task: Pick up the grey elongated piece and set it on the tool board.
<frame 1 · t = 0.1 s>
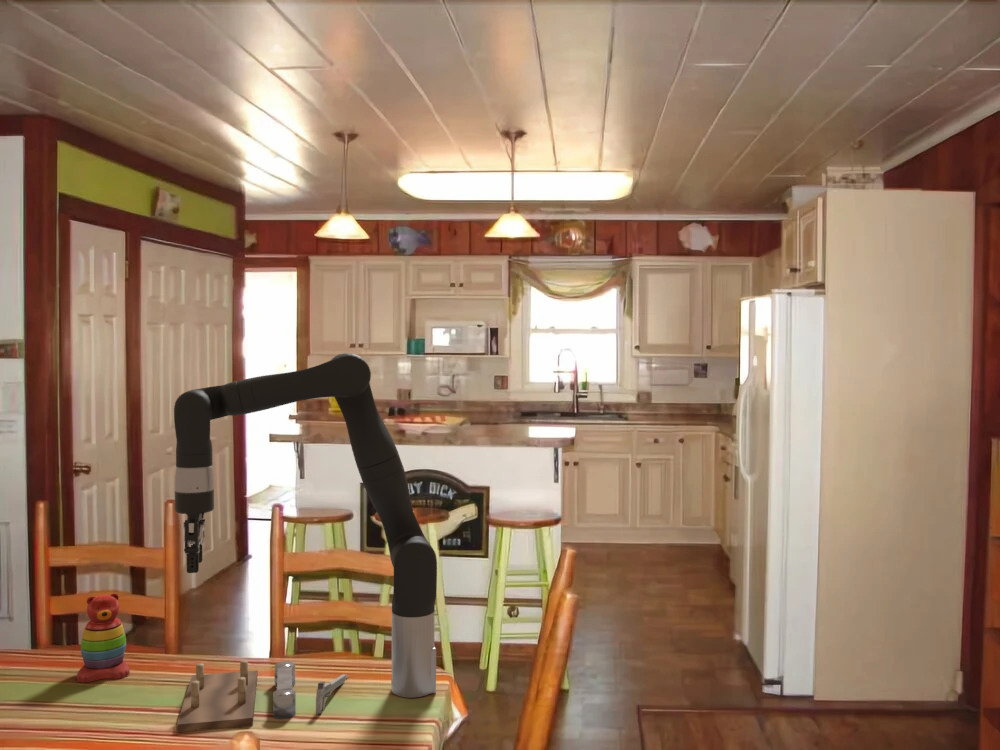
hand: (194, 567, 178), 29 cm above the table, fingers open, 8 cm apart
tool board: (220, 702, 182), on the table
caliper: (332, 697, 187), on the table
grey elongated piece: (284, 699, 184), on the table
stacking bear: (103, 674, 198), on the table
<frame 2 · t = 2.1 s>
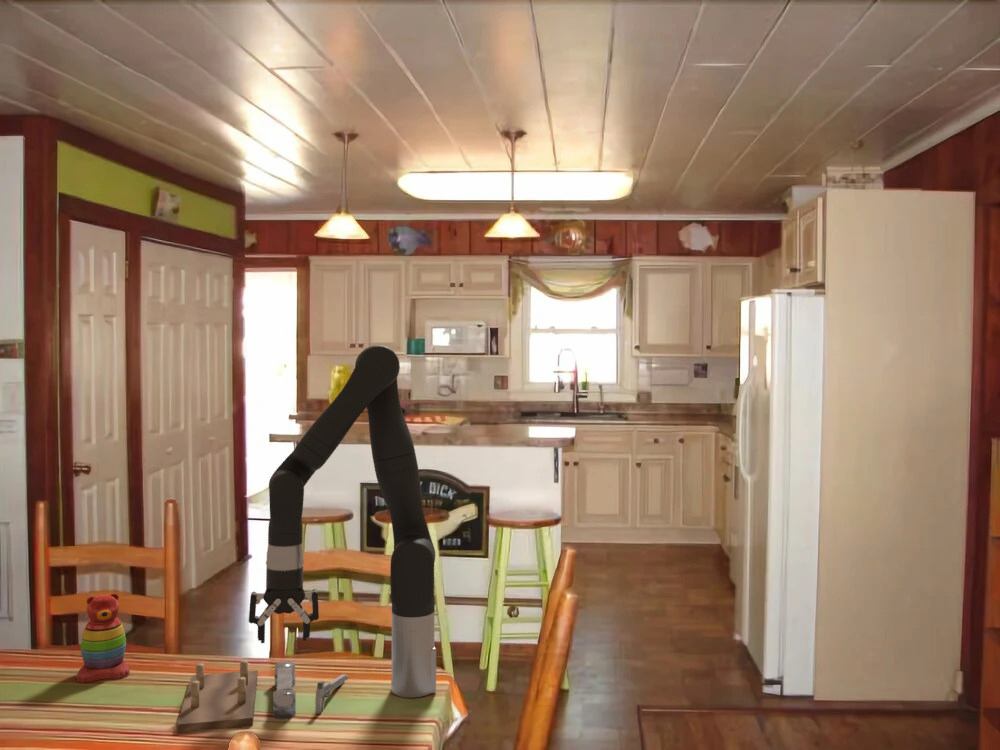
hand: (283, 640, 184), 12 cm above the table, fingers open, 8 cm apart
nothing on the table moved.
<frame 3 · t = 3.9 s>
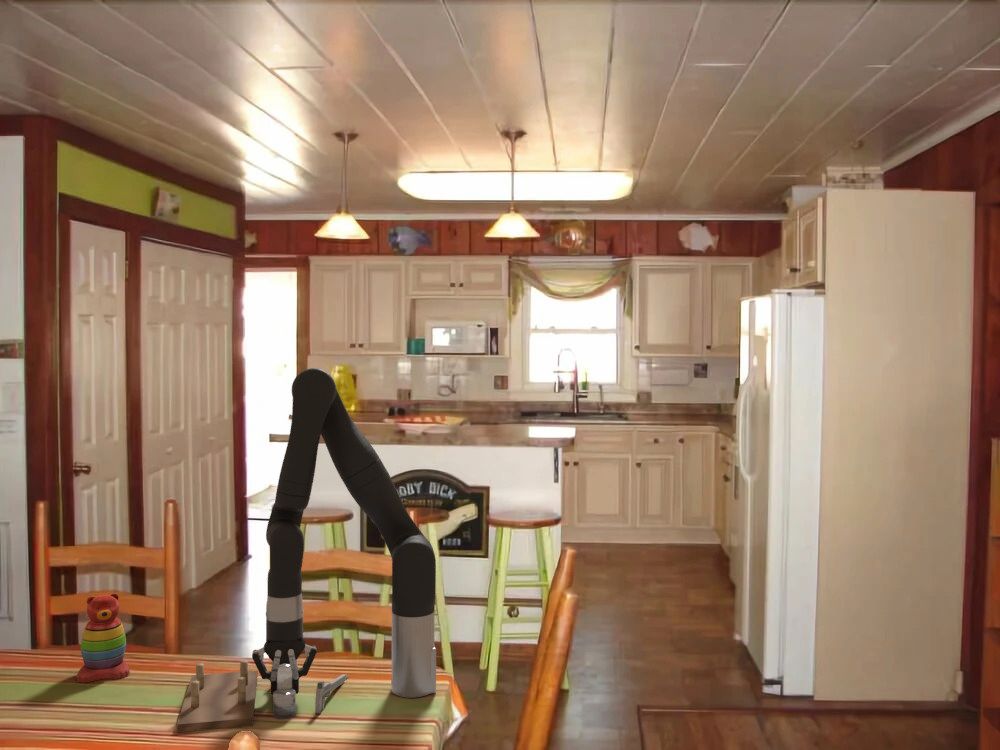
hand: (284, 695, 184), 1 cm above the table, fingers closed on grey elongated piece, 3 cm apart
grey elongated piece: (284, 699, 184), on the table, touching gripper
everything else where it was.
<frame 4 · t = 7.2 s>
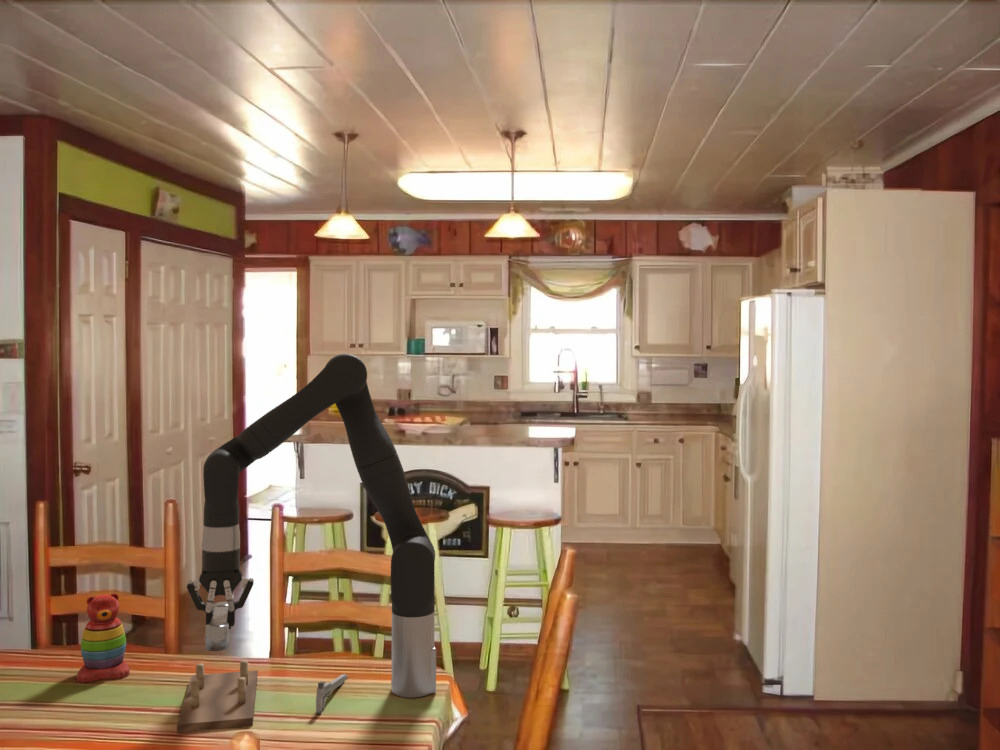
hand: (220, 628, 182), 16 cm above the table, fingers closed on grey elongated piece, 3 cm apart
grey elongated piece: (220, 635, 182), point 14 cm above the table, touching gripper
everything else where it was.
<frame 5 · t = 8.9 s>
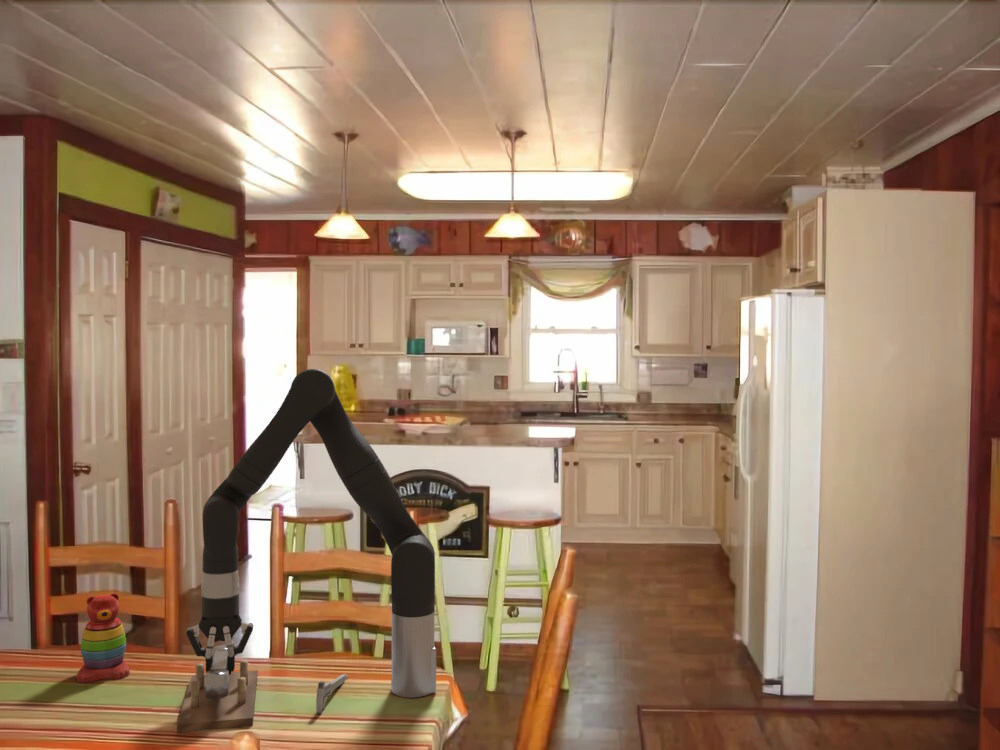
hand: (220, 673, 182), 6 cm above the table, fingers closed on grey elongated piece, 3 cm apart
grey elongated piece: (220, 681, 182), point 4 cm above the table, touching gripper
everything else where it was.
when the fingers open (3 cm above the table, at t = 10.2 s): grey elongated piece stays where it is, resting on tool board.
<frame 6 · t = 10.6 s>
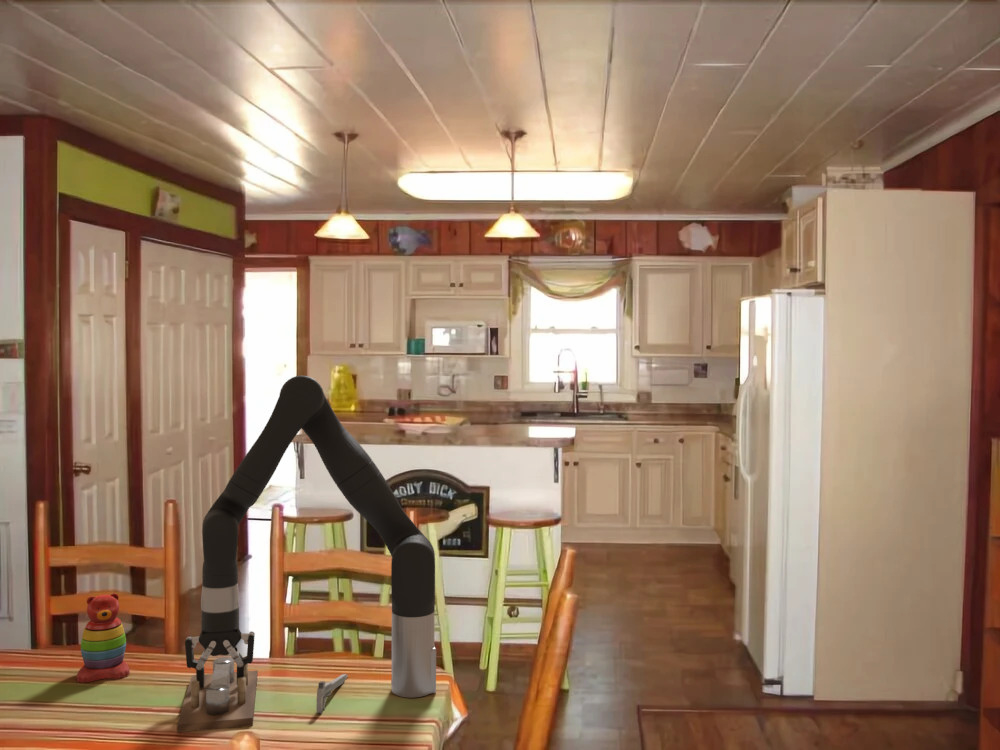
hand: (220, 684, 182), 4 cm above the table, fingers open, 6 cm apart
grey elongated piece: (220, 695, 182), point 1 cm above the table, touching tool board
everything else where it was.
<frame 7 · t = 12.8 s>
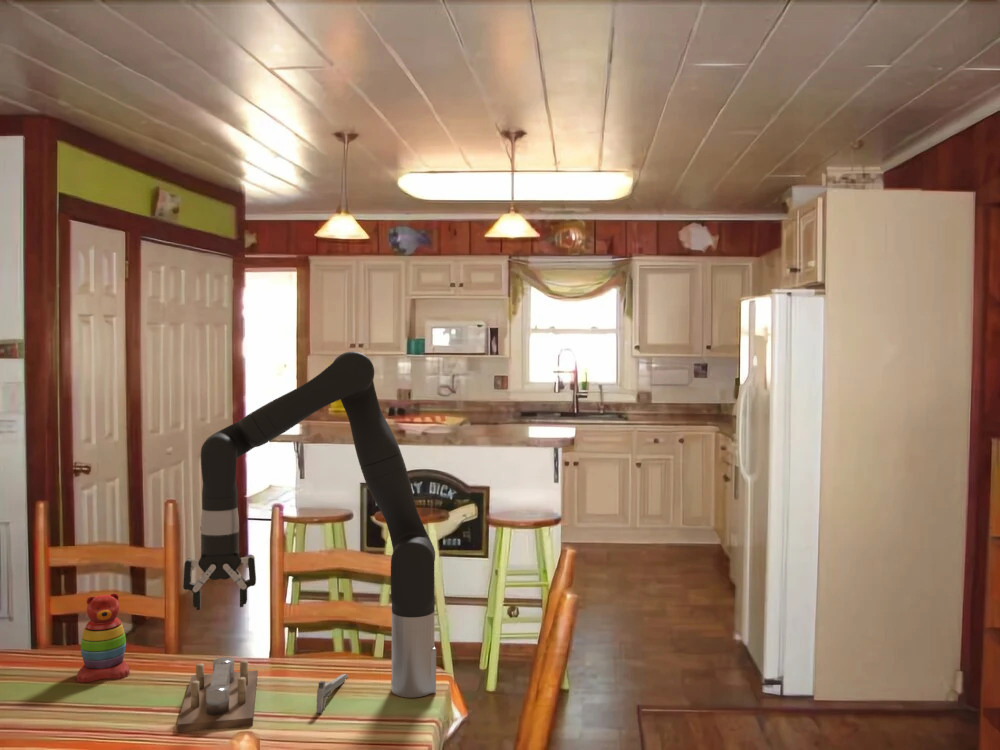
hand: (220, 607, 182), 20 cm above the table, fingers open, 8 cm apart
nothing on the table moved.
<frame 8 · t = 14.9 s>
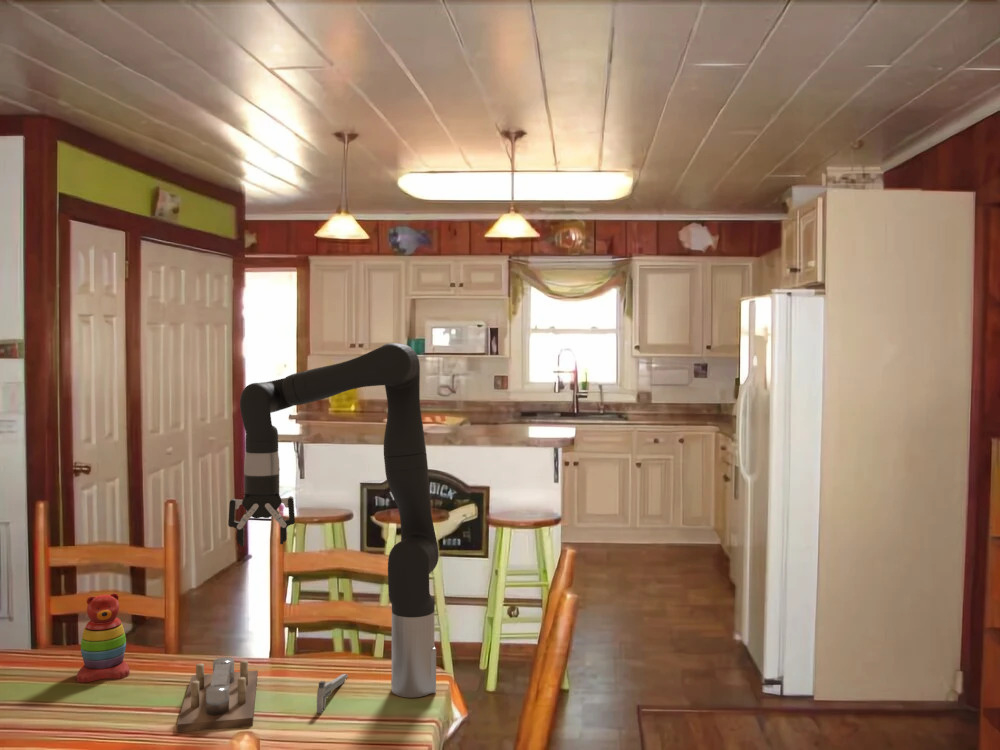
hand: (262, 544, 195), 30 cm above the table, fingers open, 8 cm apart
nothing on the table moved.
at the end: grey elongated piece 0.1 cm off-centre on the tool board, point 1.5 cm above the tool board's base; grey elongated piece tilted 0°; the gripper is holding nothing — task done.
